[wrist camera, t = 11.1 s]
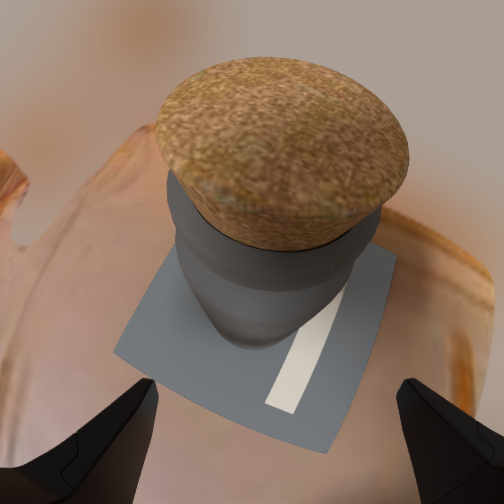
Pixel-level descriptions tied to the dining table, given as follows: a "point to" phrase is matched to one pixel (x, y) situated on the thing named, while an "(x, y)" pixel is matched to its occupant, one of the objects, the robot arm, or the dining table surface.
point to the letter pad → (263, 354)
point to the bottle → (274, 189)
